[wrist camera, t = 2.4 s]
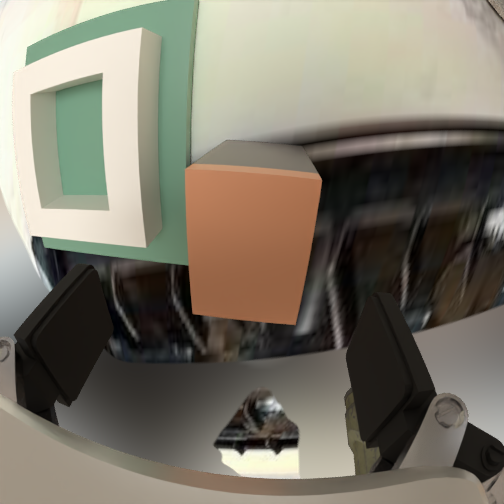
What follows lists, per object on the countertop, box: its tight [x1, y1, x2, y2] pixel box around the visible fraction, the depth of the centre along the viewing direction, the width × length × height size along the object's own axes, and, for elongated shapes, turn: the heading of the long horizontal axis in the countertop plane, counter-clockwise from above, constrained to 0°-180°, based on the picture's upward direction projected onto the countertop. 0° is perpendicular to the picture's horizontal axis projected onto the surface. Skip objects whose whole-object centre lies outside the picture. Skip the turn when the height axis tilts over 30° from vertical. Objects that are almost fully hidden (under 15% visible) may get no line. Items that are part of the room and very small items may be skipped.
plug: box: [185, 140, 322, 325], centre depth 15 cm, size 7×5×9 cm
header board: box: [12, 0, 199, 265], centre depth 16 cm, size 20×16×4 cm
